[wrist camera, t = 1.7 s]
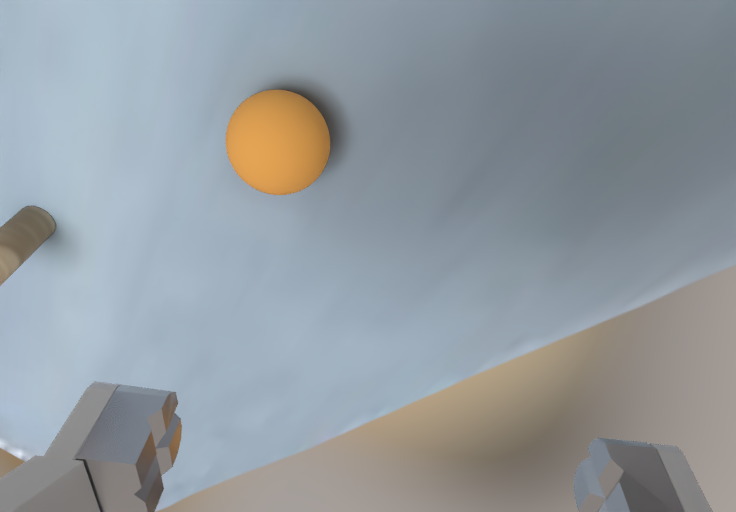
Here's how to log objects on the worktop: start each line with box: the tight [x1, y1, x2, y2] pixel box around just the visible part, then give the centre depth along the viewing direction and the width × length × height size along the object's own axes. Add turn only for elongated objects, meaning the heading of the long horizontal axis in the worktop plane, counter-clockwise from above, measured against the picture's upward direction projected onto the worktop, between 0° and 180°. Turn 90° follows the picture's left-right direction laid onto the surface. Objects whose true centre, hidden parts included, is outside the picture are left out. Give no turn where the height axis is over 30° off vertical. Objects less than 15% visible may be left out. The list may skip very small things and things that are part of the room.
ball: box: [226, 90, 330, 195], centre depth 31 cm, size 6×6×6 cm
